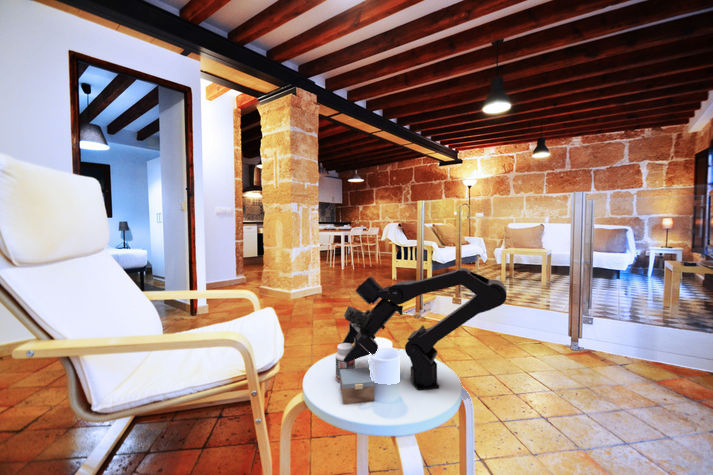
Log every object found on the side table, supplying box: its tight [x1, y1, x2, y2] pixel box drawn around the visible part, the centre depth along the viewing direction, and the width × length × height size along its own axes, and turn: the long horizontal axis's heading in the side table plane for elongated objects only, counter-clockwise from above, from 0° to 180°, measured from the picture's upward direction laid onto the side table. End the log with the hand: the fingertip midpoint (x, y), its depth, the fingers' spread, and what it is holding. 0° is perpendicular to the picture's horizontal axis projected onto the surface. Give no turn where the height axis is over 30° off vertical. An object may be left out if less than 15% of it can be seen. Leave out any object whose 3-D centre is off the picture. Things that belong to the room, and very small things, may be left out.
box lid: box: [340, 366, 375, 389], centre depth 81 cm, size 8×8×1 cm
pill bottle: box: [335, 342, 356, 383], centre depth 89 cm, size 6×6×10 cm
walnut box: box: [339, 377, 375, 405], centre depth 81 cm, size 8×8×4 cm
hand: (342, 354), depth 89 cm, fingers open, 9 cm apart
